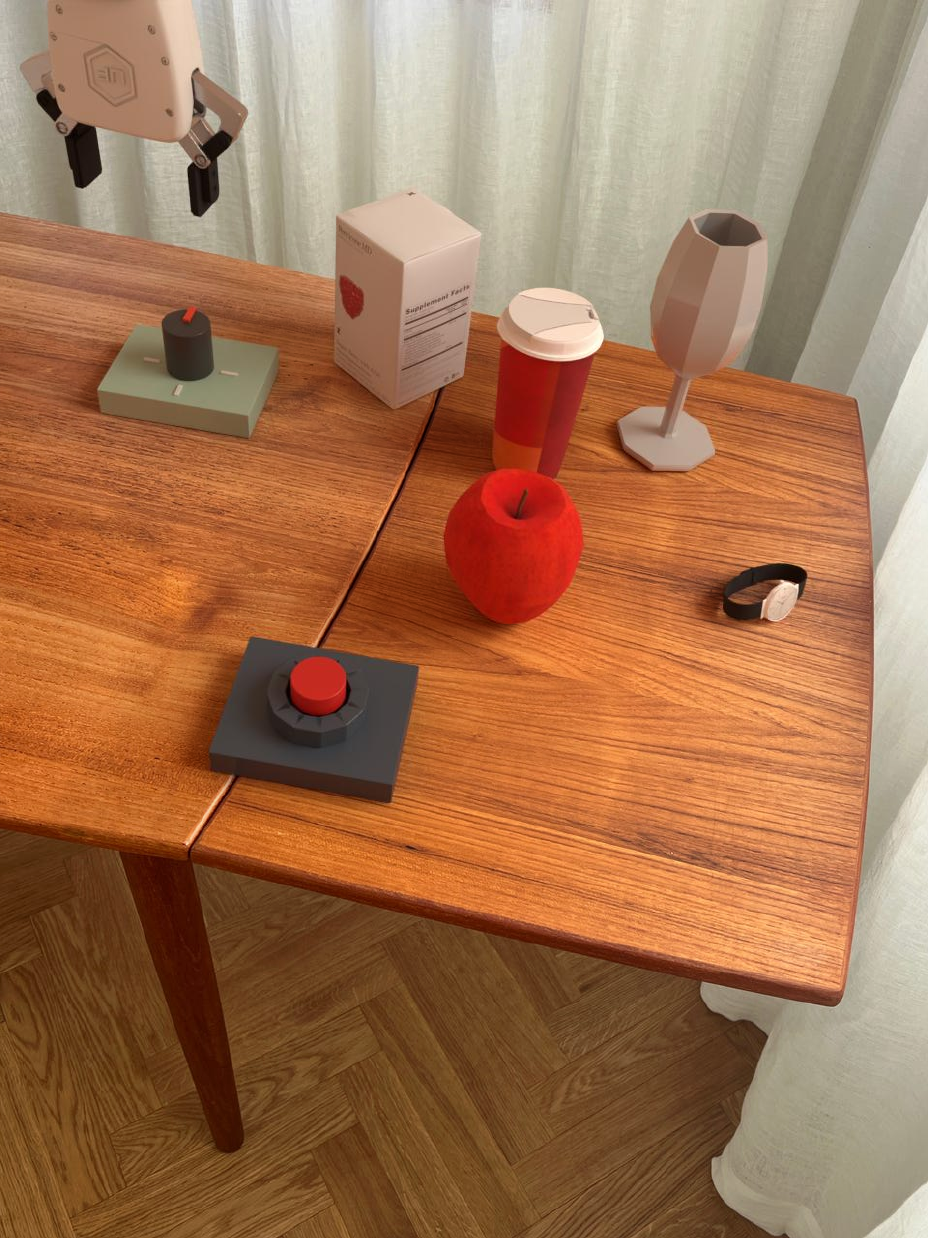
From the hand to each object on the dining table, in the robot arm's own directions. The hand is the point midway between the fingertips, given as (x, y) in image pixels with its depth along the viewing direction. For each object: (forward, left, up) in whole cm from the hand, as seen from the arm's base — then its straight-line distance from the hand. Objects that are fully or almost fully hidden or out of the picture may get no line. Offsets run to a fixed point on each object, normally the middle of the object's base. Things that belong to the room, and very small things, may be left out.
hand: (146, 194), depth 87 cm
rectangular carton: (+20, +6, -17) cm, 27 cm away
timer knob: (+3, -2, -15) cm, 15 cm away
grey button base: (+22, -35, -17) cm, 44 cm away
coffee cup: (+33, -4, -17) cm, 37 cm away
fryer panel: (+3, -2, -17) cm, 17 cm away
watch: (+53, -16, -17) cm, 58 cm away
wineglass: (+45, +2, -17) cm, 48 cm away
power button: (+22, -35, -14) cm, 43 cm away
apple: (+33, -21, -17) cm, 42 cm away
